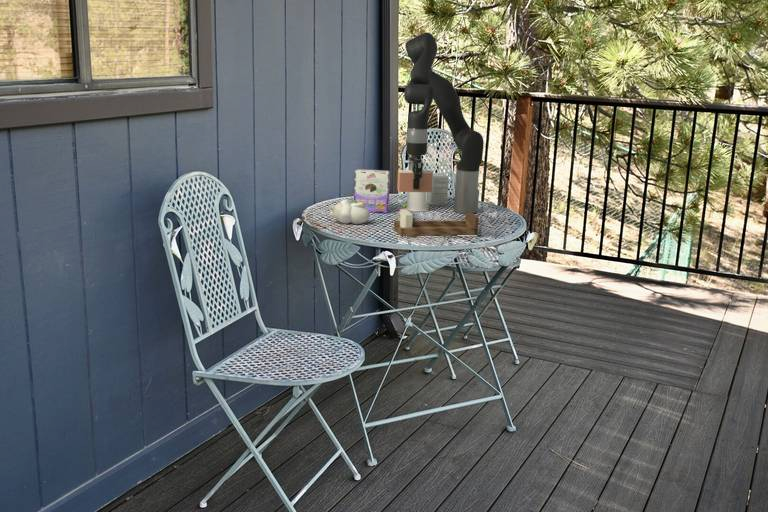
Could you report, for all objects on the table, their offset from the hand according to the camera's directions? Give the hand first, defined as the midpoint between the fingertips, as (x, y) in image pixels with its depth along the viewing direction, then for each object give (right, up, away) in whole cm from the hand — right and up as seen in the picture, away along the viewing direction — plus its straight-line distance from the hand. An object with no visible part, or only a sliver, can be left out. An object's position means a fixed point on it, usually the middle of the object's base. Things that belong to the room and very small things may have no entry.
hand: (414, 187), depth 295 cm
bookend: (-3, -15, -5) cm, 17 cm away
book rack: (+7, -17, -3) cm, 18 cm away
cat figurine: (-24, -13, +7) cm, 28 cm away
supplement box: (+11, -3, +50) cm, 51 cm away
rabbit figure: (-3, -10, +20) cm, 23 cm away
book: (0, -1, 0) cm, 1 cm away
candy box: (-16, -7, +29) cm, 34 cm away
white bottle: (+3, -6, +36) cm, 36 cm away
